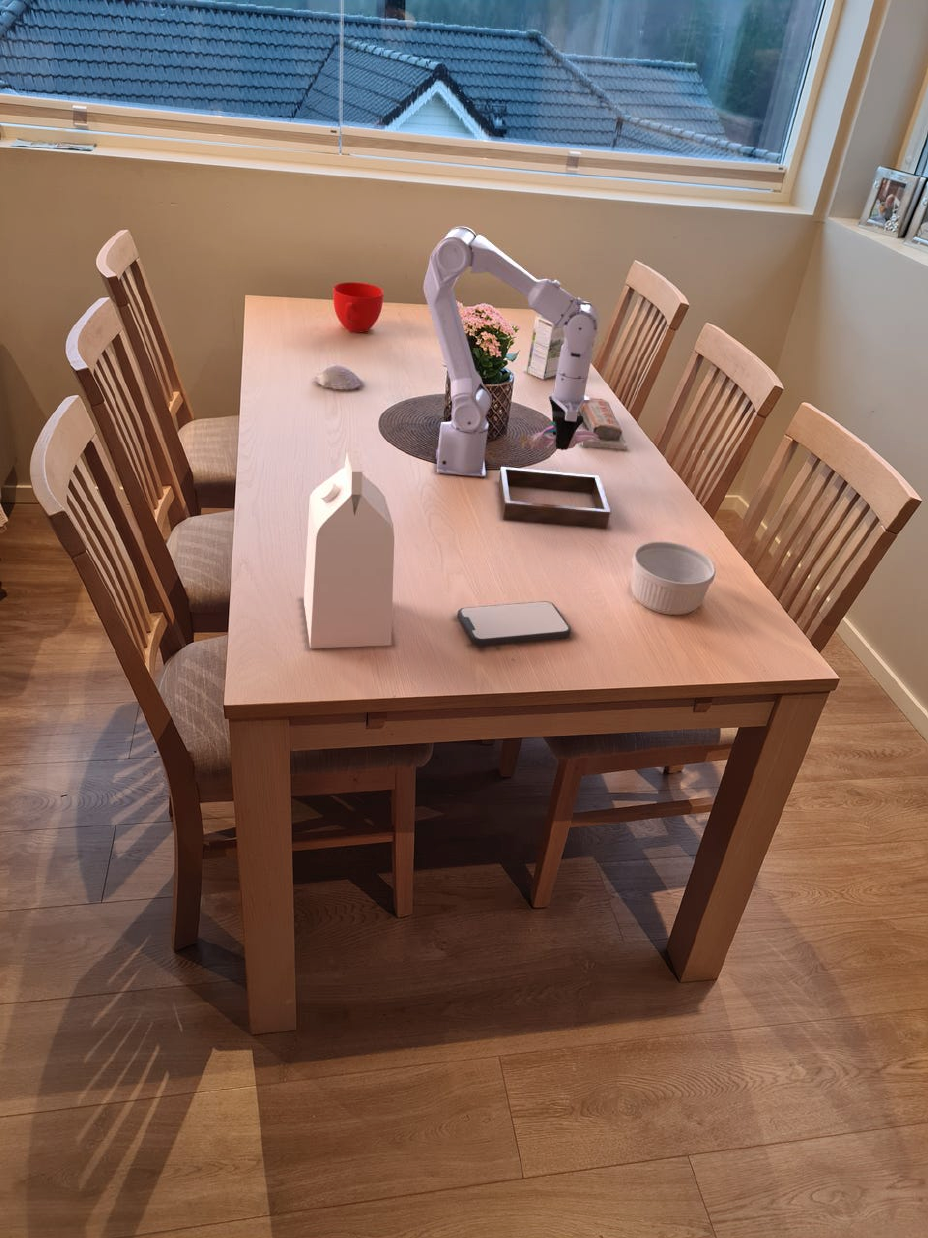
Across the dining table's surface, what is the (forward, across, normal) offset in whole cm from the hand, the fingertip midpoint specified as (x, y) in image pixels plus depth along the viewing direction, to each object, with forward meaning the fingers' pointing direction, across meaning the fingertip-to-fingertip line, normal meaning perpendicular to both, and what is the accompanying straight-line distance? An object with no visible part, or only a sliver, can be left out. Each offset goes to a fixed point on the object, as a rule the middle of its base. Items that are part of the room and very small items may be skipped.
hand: (559, 441), depth 179 cm
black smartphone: (+9, -50, +11) cm, 52 cm away
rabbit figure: (+2, 0, 0) cm, 2 cm away
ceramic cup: (+9, +79, +45) cm, 92 cm away
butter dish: (+9, +28, -13) cm, 32 cm away
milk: (+9, -53, +36) cm, 64 cm away
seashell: (+7, +41, +46) cm, 62 cm away
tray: (+9, -9, +1) cm, 13 cm away
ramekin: (+9, -38, -15) cm, 42 cm away
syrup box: (+9, +61, -3) cm, 61 cm away
